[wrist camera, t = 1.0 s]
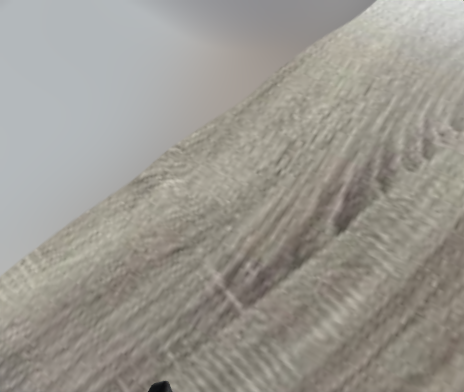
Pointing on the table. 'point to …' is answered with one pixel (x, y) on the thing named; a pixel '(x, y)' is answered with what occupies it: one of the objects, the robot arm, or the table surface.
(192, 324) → the table surface
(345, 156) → the table surface
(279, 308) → the table surface
